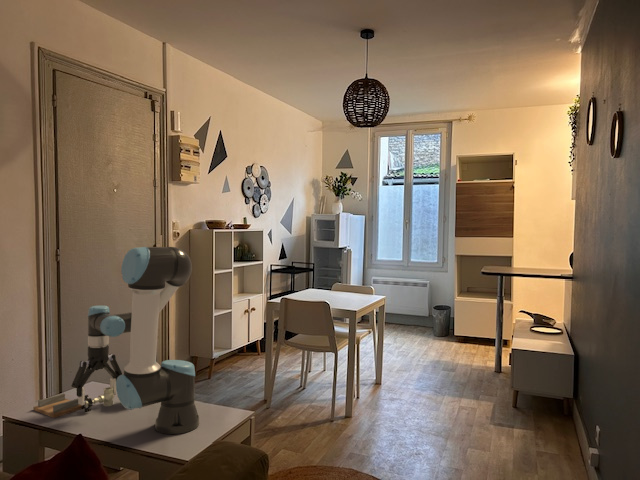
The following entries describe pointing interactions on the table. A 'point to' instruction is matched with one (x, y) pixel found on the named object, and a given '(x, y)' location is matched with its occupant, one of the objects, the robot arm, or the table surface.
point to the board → (57, 406)
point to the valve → (99, 399)
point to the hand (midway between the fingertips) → (97, 399)
